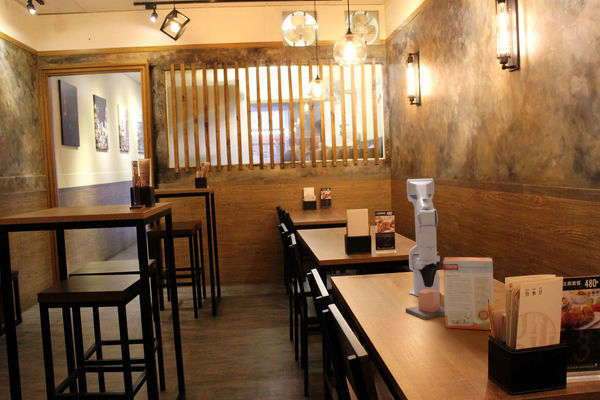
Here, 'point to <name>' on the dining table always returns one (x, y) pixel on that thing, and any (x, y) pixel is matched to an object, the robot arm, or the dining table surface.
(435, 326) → the dining table surface
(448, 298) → the cracker box
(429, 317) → the post board
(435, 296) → the peach wooden cube
